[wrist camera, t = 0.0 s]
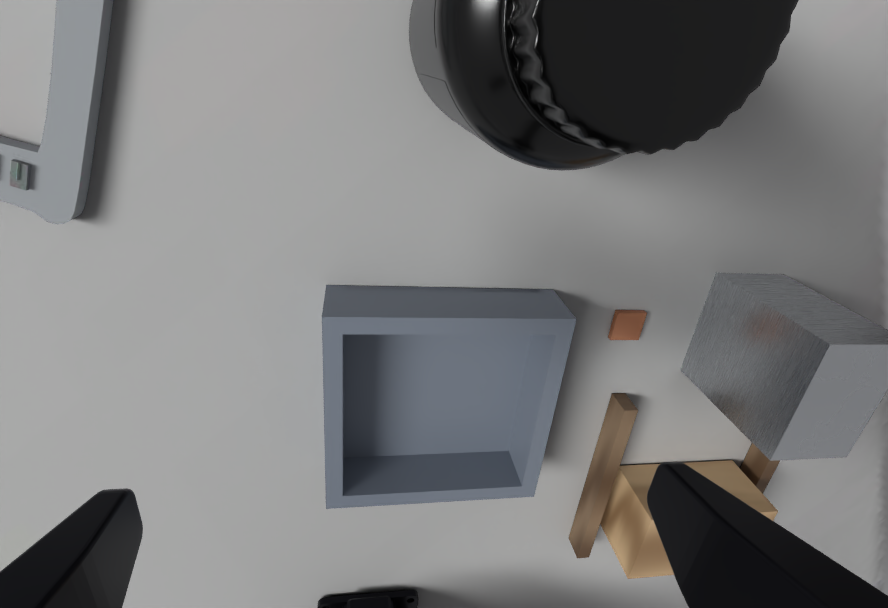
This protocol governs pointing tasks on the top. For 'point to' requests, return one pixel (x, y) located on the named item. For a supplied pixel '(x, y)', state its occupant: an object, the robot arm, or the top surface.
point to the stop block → (787, 365)
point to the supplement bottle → (592, 71)
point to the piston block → (634, 523)
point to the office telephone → (63, 119)
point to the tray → (439, 391)
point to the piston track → (615, 442)
